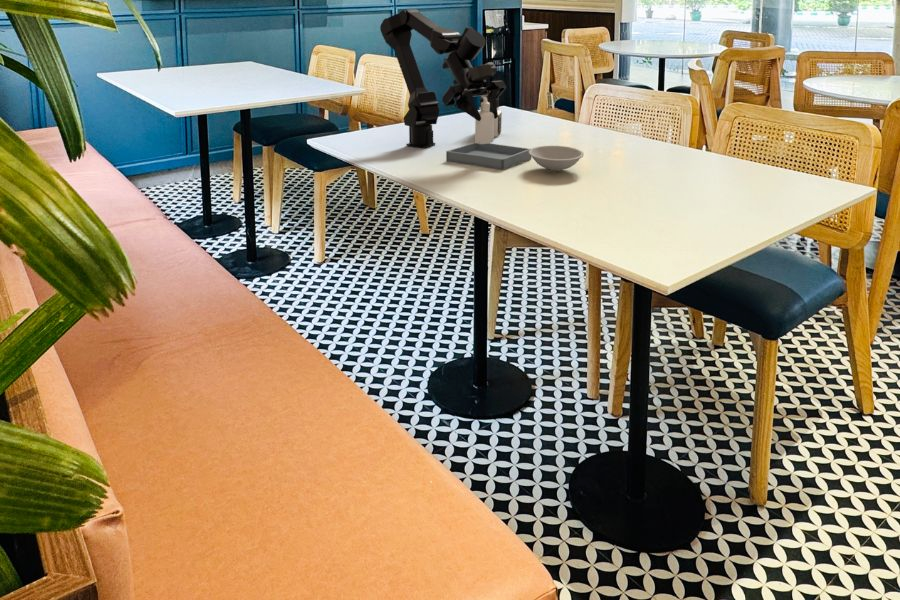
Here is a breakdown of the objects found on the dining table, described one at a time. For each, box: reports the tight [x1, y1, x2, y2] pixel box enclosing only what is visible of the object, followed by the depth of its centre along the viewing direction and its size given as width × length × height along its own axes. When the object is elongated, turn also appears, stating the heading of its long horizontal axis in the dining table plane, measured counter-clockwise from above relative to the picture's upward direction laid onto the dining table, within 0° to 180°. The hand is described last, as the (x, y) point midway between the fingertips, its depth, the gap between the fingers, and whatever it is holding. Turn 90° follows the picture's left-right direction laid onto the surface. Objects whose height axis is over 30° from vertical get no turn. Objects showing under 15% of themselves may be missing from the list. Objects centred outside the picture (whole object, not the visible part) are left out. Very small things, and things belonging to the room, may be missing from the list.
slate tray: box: [445, 141, 533, 171], centre depth 230 cm, size 18×16×3 cm
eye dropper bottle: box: [474, 98, 495, 144], centre depth 222 cm, size 4×6×12 cm
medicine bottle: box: [478, 96, 503, 138], centre depth 261 cm, size 7×7×12 cm
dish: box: [529, 145, 585, 173], centre depth 218 cm, size 18×14×5 cm
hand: (488, 118), depth 221 cm, fingers closed on eye dropper bottle, 5 cm apart
